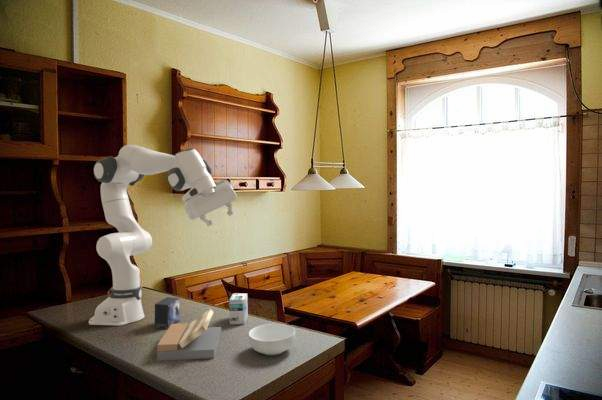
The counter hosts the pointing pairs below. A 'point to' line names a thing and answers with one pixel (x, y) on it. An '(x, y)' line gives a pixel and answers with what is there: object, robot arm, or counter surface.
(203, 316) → the birch plank
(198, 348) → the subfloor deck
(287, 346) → the cereal bowl
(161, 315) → the small box
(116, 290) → the robot arm
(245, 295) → the light bulb box
